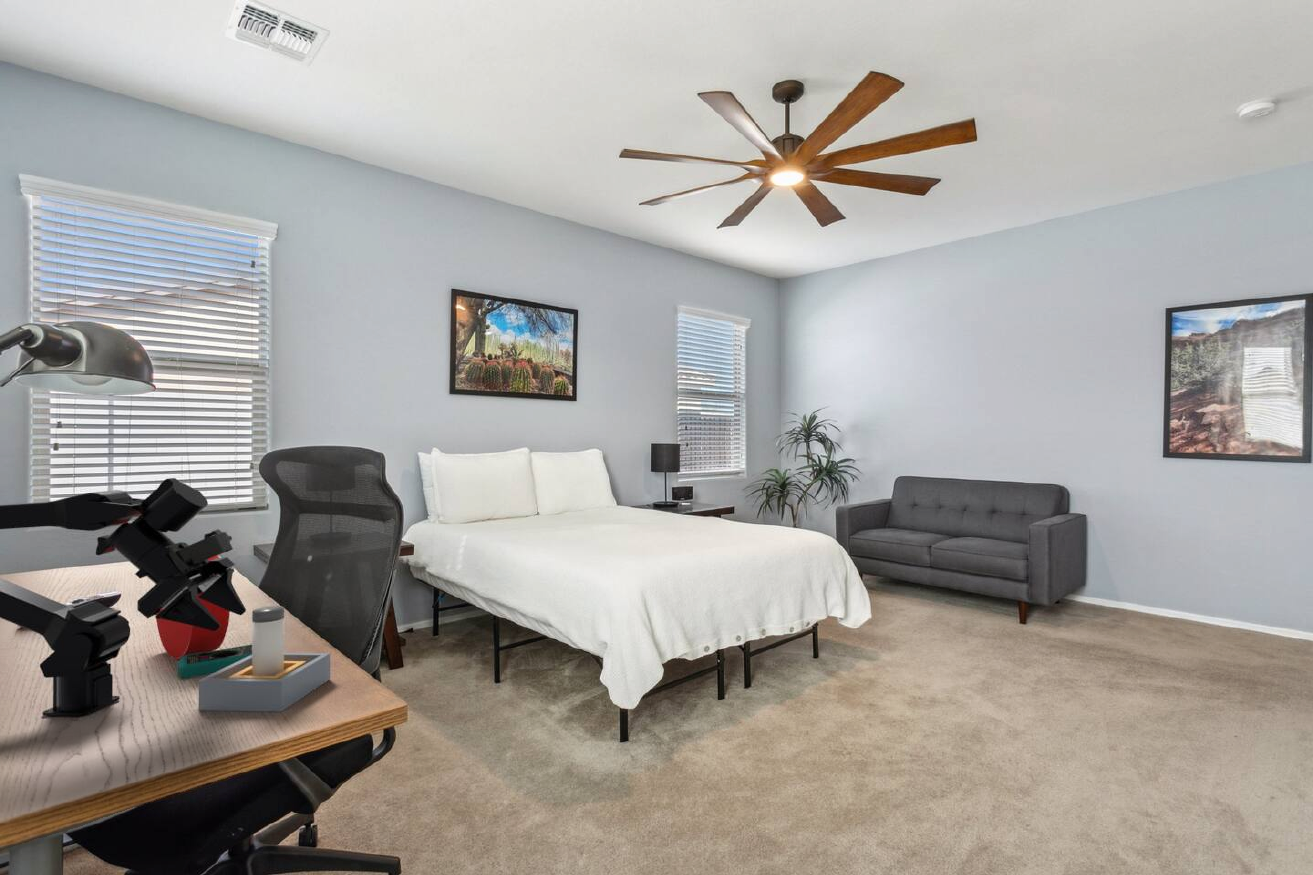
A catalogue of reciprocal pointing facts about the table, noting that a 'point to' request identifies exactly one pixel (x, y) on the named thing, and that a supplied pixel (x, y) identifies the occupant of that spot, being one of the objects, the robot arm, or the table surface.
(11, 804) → the table surface
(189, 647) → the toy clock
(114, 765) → the table surface
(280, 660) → the grey capped shaker bottle
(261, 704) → the box
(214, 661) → the digital multimeter
